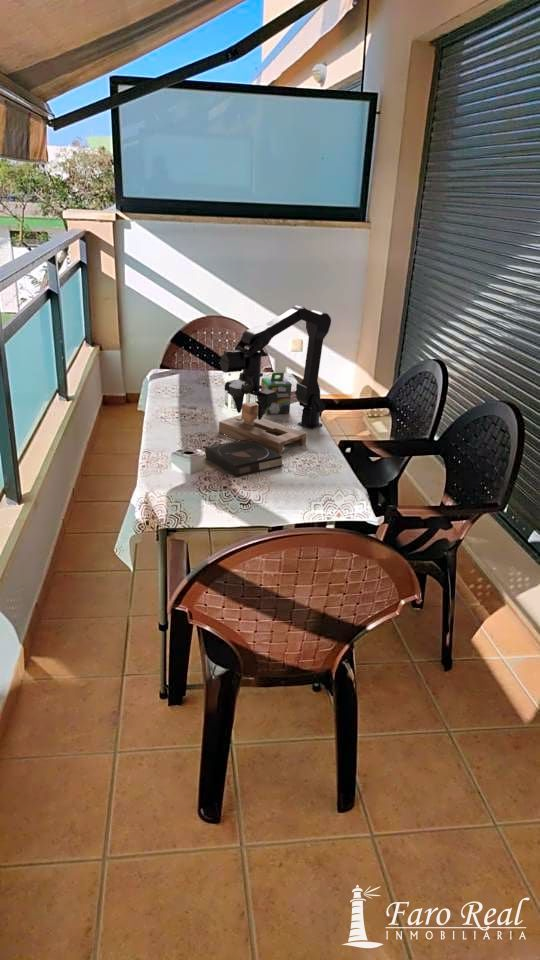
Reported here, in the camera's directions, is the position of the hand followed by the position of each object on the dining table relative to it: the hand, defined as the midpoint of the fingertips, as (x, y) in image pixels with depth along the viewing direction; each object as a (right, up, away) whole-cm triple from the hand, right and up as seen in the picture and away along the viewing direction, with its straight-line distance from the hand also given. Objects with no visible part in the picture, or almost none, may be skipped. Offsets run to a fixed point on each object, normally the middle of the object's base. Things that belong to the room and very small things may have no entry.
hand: (249, 416), depth 223 cm
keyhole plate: (+4, -8, -1) cm, 9 cm away
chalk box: (+9, +5, +28) cm, 30 cm away
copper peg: (0, -6, +2) cm, 6 cm away
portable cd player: (-1, -17, -21) cm, 27 cm away
